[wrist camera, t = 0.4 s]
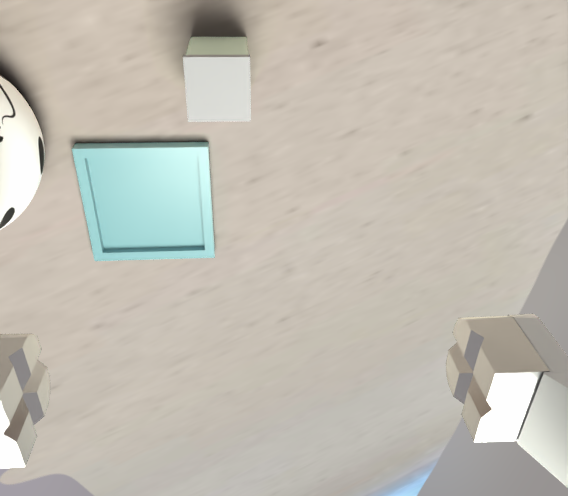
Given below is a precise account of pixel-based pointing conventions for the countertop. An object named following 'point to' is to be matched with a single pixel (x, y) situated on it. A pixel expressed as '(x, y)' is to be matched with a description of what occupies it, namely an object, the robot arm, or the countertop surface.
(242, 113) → the tea tin
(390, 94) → the countertop surface
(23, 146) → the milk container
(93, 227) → the tray
